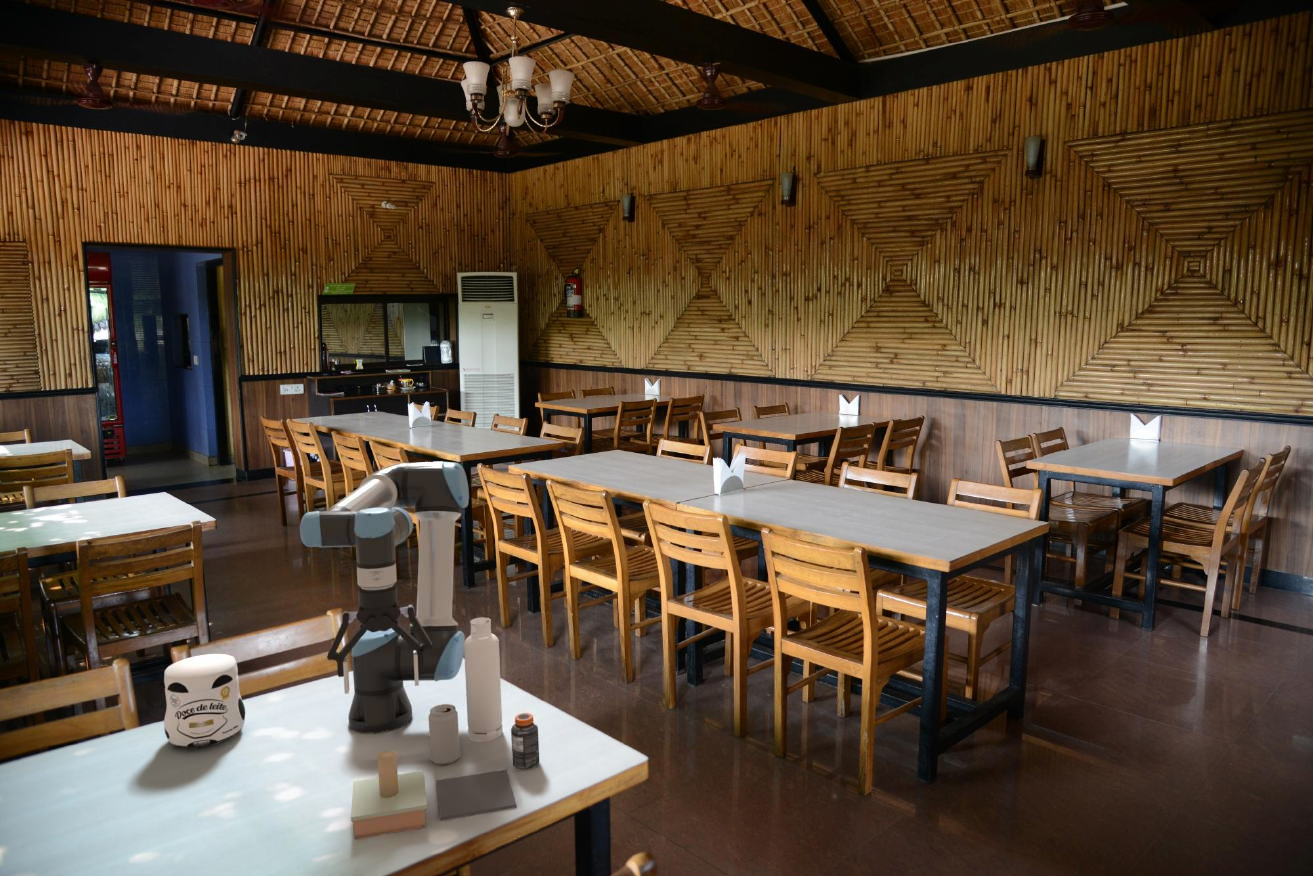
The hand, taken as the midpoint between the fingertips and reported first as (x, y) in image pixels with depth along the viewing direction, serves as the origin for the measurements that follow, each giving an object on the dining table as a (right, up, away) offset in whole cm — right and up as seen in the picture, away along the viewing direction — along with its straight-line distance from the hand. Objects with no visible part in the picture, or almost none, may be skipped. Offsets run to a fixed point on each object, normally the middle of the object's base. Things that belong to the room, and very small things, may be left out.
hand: (382, 687), depth 180 cm
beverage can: (+8, -22, +19) cm, 30 cm away
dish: (+3, -25, -3) cm, 25 cm away
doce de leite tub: (-52, -21, +32) cm, 65 cm away
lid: (+3, -21, -4) cm, 21 cm away
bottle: (+15, -20, +31) cm, 40 cm away
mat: (+18, -23, +4) cm, 30 cm away
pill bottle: (+27, -22, +16) cm, 38 cm away
